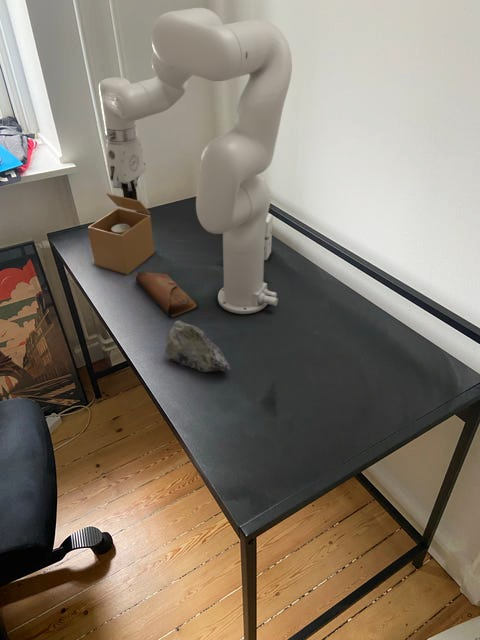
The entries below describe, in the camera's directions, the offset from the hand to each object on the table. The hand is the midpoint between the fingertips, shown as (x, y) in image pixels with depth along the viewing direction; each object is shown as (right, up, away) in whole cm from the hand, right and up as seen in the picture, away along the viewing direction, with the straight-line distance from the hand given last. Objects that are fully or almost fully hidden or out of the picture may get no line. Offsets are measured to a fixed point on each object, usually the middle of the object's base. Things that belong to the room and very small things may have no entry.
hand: (131, 202), depth 139 cm
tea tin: (-3, -14, +4) cm, 15 cm away
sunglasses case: (+11, -25, -9) cm, 29 cm away
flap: (-1, -1, -1) cm, 1 cm away
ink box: (+33, -13, +6) cm, 36 cm away
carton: (-3, -14, +5) cm, 15 cm away
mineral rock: (+20, -41, -30) cm, 55 cm away
